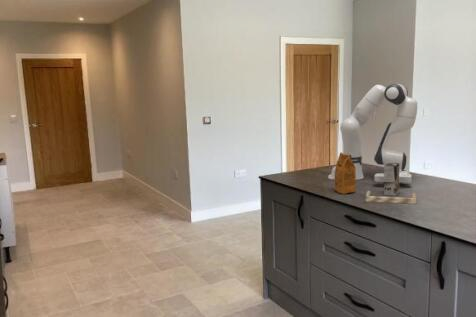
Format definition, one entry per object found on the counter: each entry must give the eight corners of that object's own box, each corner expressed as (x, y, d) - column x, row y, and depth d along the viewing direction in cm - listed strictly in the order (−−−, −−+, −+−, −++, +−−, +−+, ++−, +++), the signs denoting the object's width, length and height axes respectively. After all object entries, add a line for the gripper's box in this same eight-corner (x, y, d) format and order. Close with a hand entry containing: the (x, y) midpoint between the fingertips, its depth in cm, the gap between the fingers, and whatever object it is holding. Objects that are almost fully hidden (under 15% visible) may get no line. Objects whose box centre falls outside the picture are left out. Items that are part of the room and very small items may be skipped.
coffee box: (396, 196, 224) (396, 166, 222) (383, 194, 228) (383, 165, 225) (399, 191, 232) (399, 163, 229) (387, 190, 235) (387, 162, 233)
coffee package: (348, 188, 246) (347, 151, 242) (358, 193, 234) (357, 154, 230) (332, 189, 244) (331, 152, 241) (341, 195, 232) (340, 155, 229)
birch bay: (365, 201, 217) (365, 196, 217) (367, 195, 229) (367, 190, 228) (416, 204, 208) (416, 199, 208) (415, 197, 220) (415, 192, 220)
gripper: (374, 170, 253) (372, 174, 240) (411, 170, 245) (411, 175, 232) (374, 180, 254) (372, 185, 241) (411, 181, 246) (411, 187, 233)
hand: (392, 180), depth 237 cm, fingers closed
